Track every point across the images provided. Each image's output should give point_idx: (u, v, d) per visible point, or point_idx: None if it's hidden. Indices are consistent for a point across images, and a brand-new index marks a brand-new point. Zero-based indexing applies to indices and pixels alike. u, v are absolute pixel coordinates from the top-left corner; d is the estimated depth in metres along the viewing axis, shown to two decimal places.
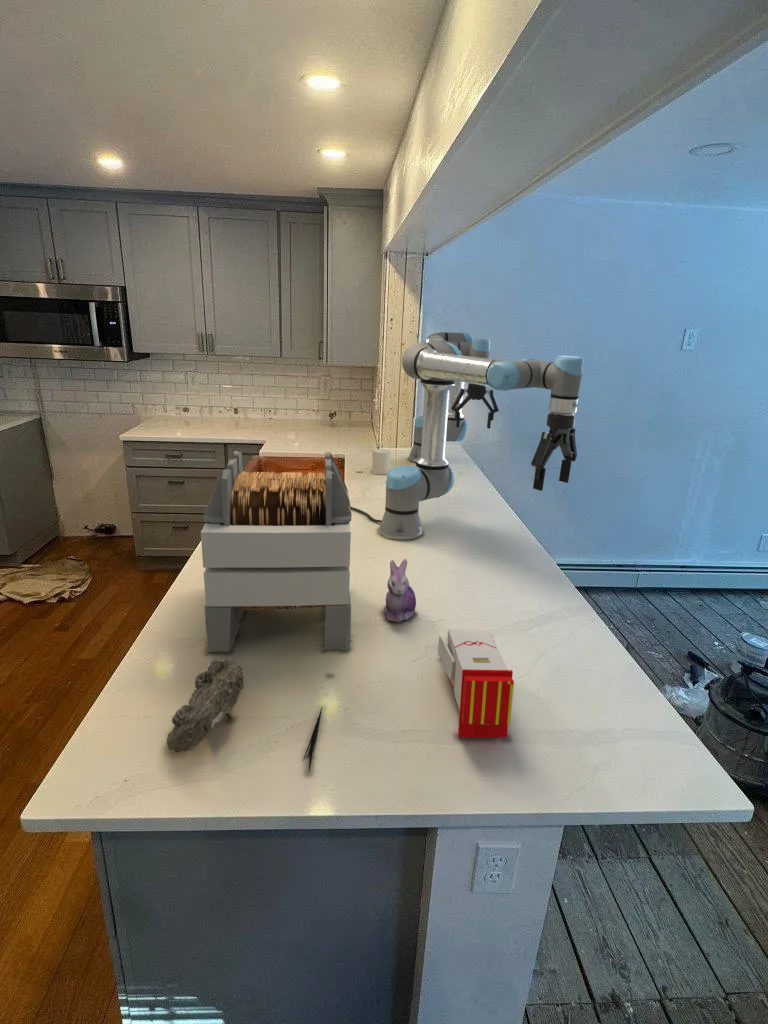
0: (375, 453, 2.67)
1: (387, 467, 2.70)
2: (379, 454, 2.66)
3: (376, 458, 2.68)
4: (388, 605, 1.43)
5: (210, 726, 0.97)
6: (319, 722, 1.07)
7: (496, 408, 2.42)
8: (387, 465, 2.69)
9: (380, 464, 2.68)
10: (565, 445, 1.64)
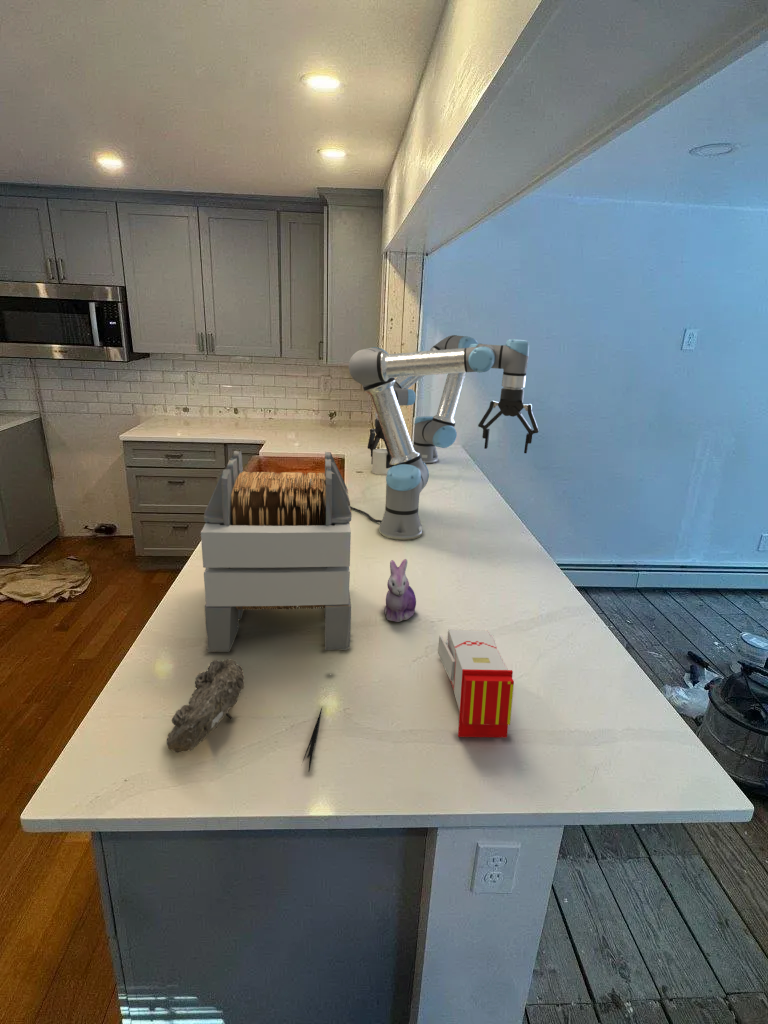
0: (375, 453, 2.67)
1: None
2: (379, 454, 2.66)
3: (376, 458, 2.68)
4: (388, 605, 1.43)
5: (210, 726, 0.97)
6: (319, 722, 1.07)
7: None
8: None
9: (380, 464, 2.68)
10: None
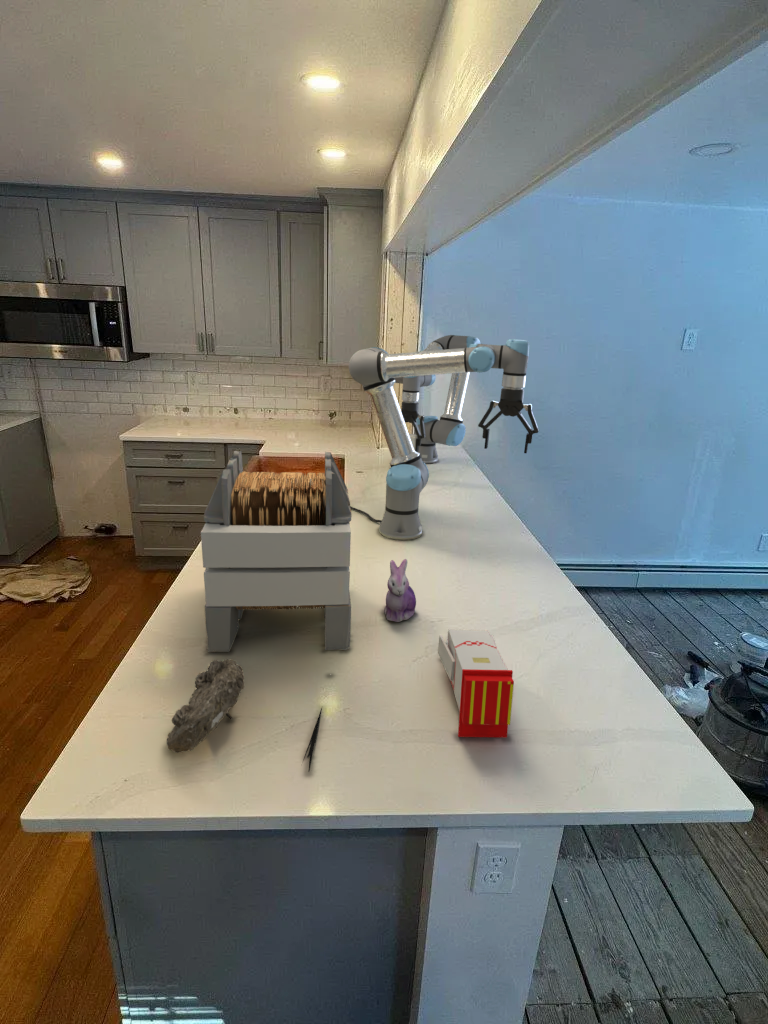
0: None
1: None
2: None
3: None
4: (388, 605, 1.43)
5: (210, 726, 0.97)
6: (319, 722, 1.07)
7: (422, 434, 2.53)
8: None
9: None
10: None
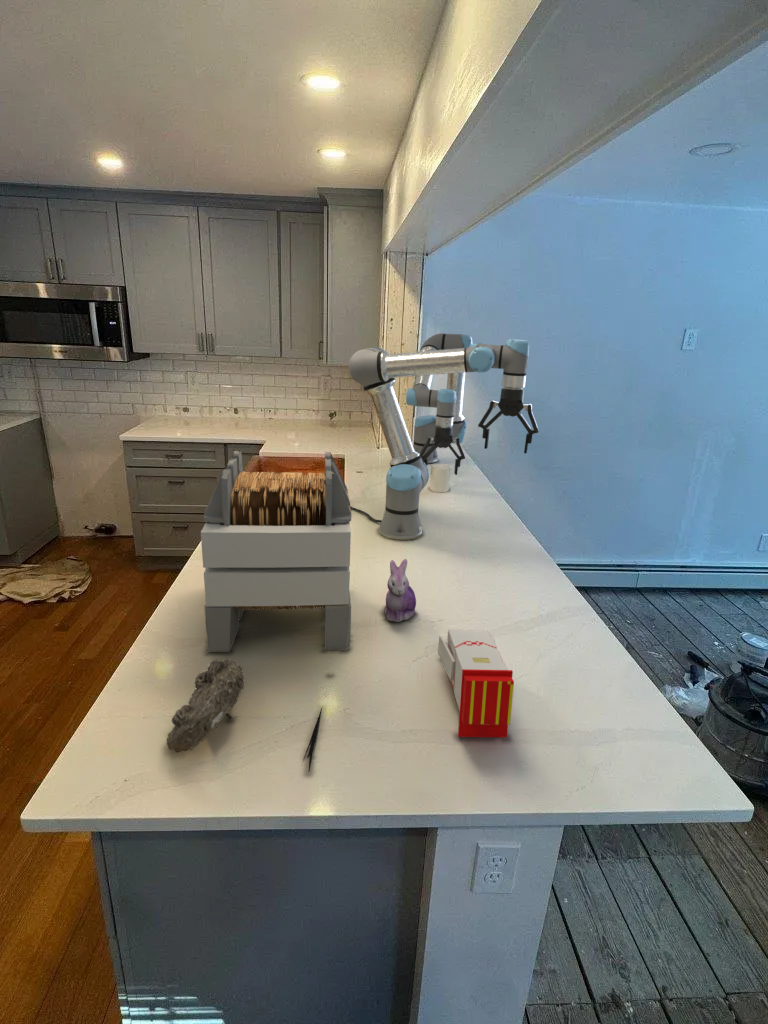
0: (441, 470, 2.44)
1: None
2: (446, 470, 2.45)
3: (442, 475, 2.45)
4: (388, 605, 1.43)
5: (210, 726, 0.97)
6: (319, 722, 1.07)
7: (463, 455, 2.46)
8: None
9: (447, 481, 2.47)
10: None
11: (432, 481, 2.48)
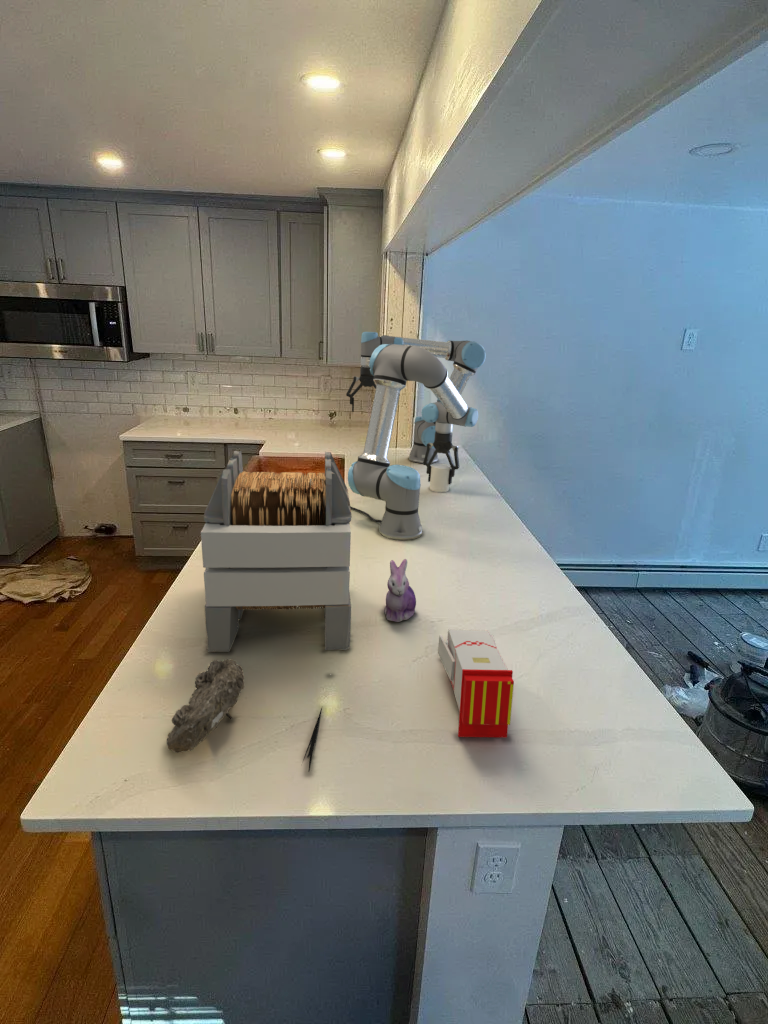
0: (441, 470, 2.44)
1: None
2: (446, 470, 2.45)
3: (442, 475, 2.45)
4: (388, 605, 1.43)
5: (210, 726, 0.97)
6: (319, 722, 1.07)
7: None
8: None
9: (447, 481, 2.47)
10: None
11: (432, 481, 2.48)
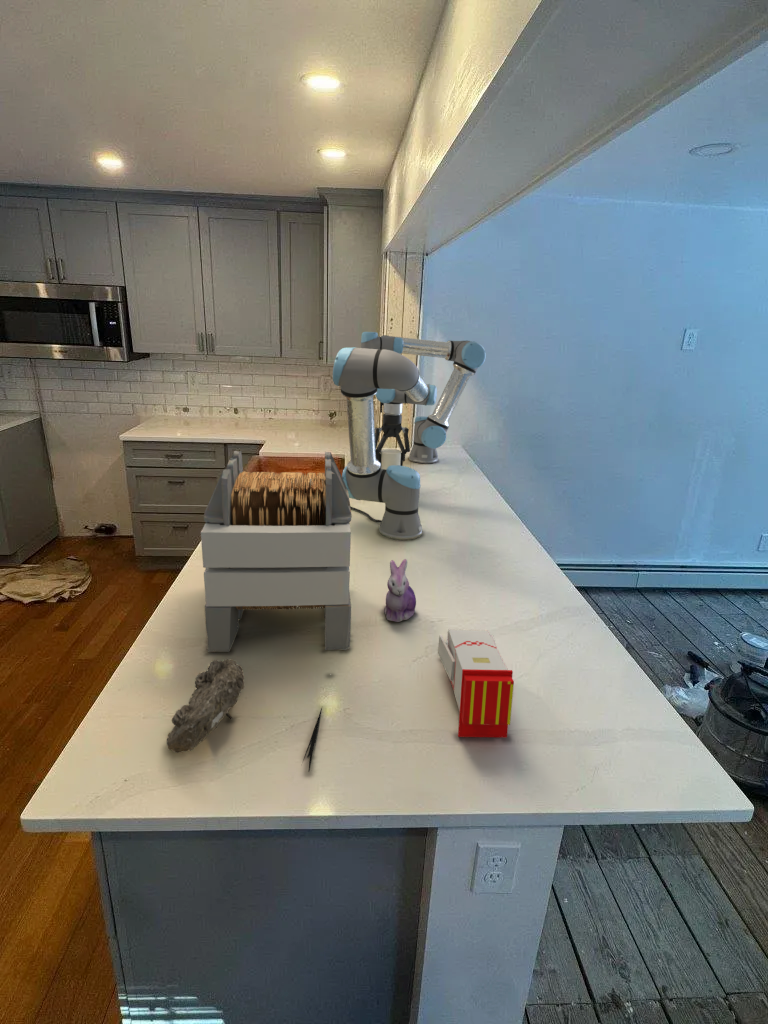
0: (396, 455, 2.27)
1: None
2: (400, 454, 2.28)
3: (397, 460, 2.28)
4: (388, 605, 1.43)
5: (210, 726, 0.97)
6: (319, 722, 1.07)
7: None
8: None
9: None
10: None
11: (386, 469, 2.28)
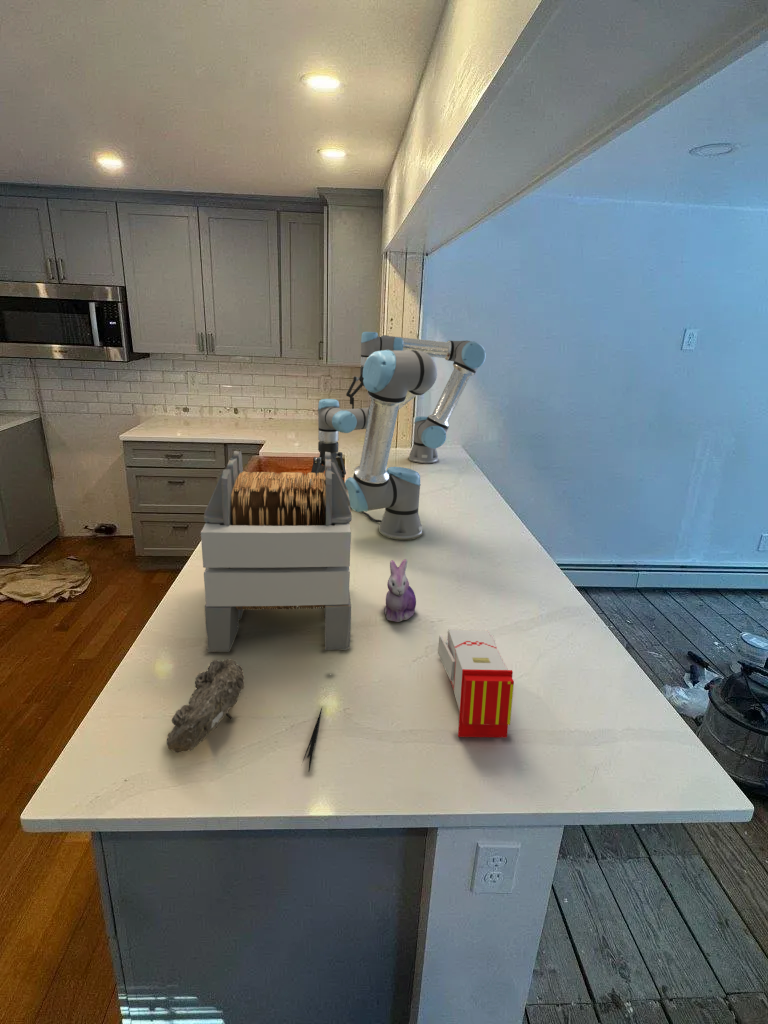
0: None
1: None
2: None
3: None
4: (388, 605, 1.43)
5: (210, 726, 0.97)
6: (319, 722, 1.07)
7: None
8: None
9: None
10: None
11: None
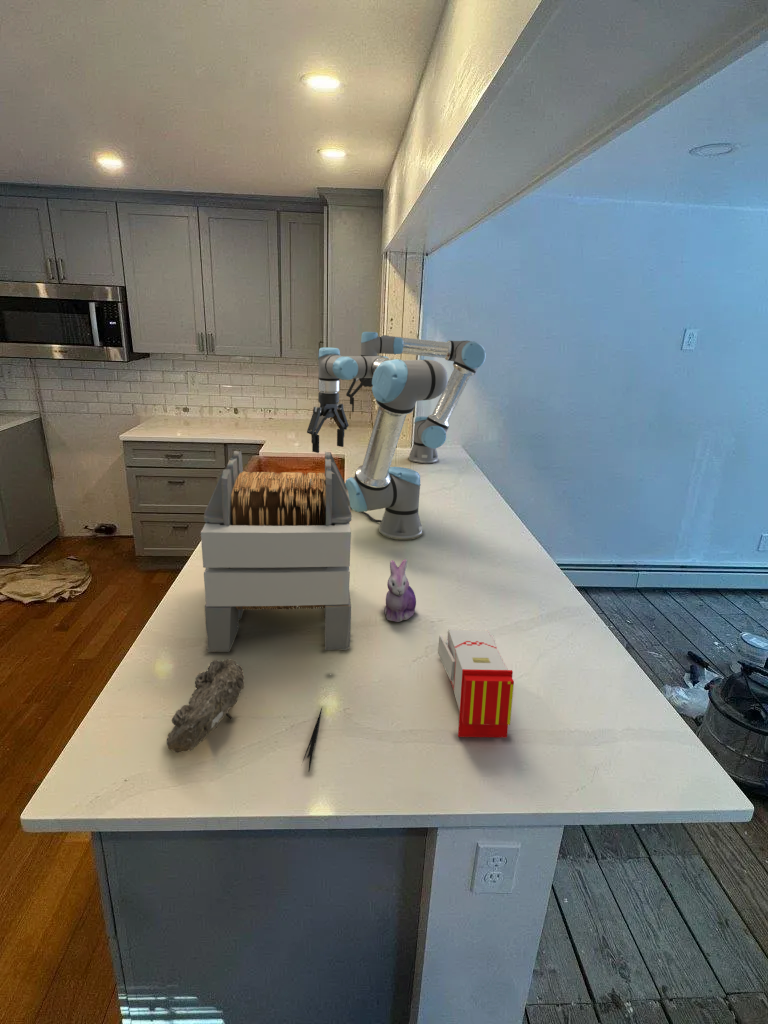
0: None
1: None
2: None
3: None
4: (388, 605, 1.43)
5: (210, 726, 0.97)
6: (319, 722, 1.07)
7: None
8: None
9: None
10: None
11: None
